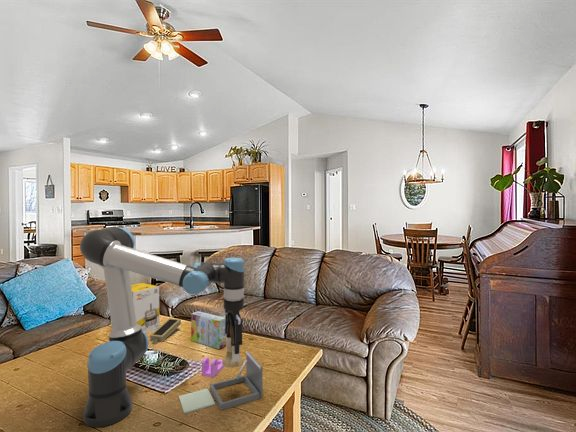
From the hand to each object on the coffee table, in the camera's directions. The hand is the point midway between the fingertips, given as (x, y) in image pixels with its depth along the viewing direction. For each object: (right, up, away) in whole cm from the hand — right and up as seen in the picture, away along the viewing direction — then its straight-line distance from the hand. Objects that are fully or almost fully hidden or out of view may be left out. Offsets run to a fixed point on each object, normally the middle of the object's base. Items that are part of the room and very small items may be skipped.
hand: (232, 357), depth 127 cm
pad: (-13, -15, -4) cm, 20 cm away
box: (-47, -12, +56) cm, 75 cm away
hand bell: (0, -2, 0) cm, 2 cm away
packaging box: (-66, -12, +65) cm, 94 cm away
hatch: (0, -14, +1) cm, 14 cm away
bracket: (-11, -14, +20) cm, 27 cm away
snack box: (-21, -13, +46) cm, 52 cm away
